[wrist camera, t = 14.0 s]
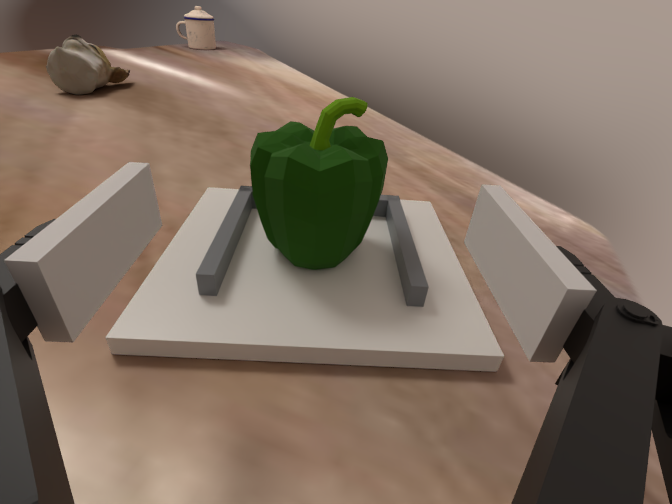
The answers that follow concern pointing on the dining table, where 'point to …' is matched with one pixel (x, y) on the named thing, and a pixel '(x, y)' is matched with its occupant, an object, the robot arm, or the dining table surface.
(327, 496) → the dining table surface
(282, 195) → the bell pepper
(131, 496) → the dining table surface
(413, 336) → the board
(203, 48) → the teacup with lid
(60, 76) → the garlic bulb
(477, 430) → the dining table surface
